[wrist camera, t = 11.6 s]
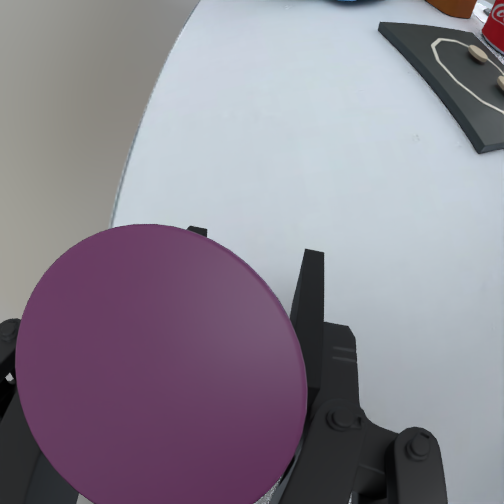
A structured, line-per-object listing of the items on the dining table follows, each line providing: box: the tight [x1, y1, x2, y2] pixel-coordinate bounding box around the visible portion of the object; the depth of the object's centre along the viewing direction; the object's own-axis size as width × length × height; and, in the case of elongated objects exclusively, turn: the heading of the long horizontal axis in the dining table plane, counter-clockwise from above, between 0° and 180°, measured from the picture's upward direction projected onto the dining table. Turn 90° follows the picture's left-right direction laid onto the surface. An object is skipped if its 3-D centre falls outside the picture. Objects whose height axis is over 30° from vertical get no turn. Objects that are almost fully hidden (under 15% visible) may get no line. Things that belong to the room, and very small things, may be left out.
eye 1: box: [468, 45, 488, 62], centre depth 20 cm, size 2×2×1 cm
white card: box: [473, 2, 491, 23], centre depth 27 cm, size 12×12×2 cm
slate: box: [378, 22, 504, 153], centre depth 21 cm, size 17×16×1 cm
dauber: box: [15, 224, 308, 504], centre depth 9 cm, size 4×4×13 cm
